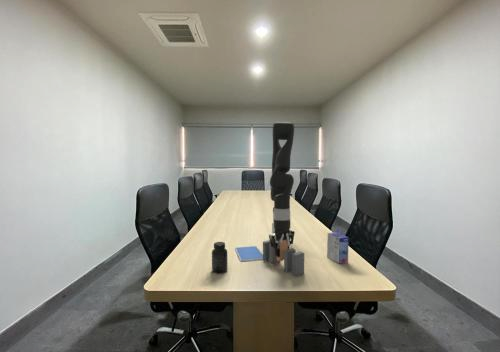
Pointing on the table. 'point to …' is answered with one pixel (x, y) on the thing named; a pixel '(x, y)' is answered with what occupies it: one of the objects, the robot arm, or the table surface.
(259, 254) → the blue flat board
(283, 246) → the domino
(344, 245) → the ink cartridge box
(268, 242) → the domino
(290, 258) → the domino
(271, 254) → the domino
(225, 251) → the supplement bottle
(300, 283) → the table surface
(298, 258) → the domino
